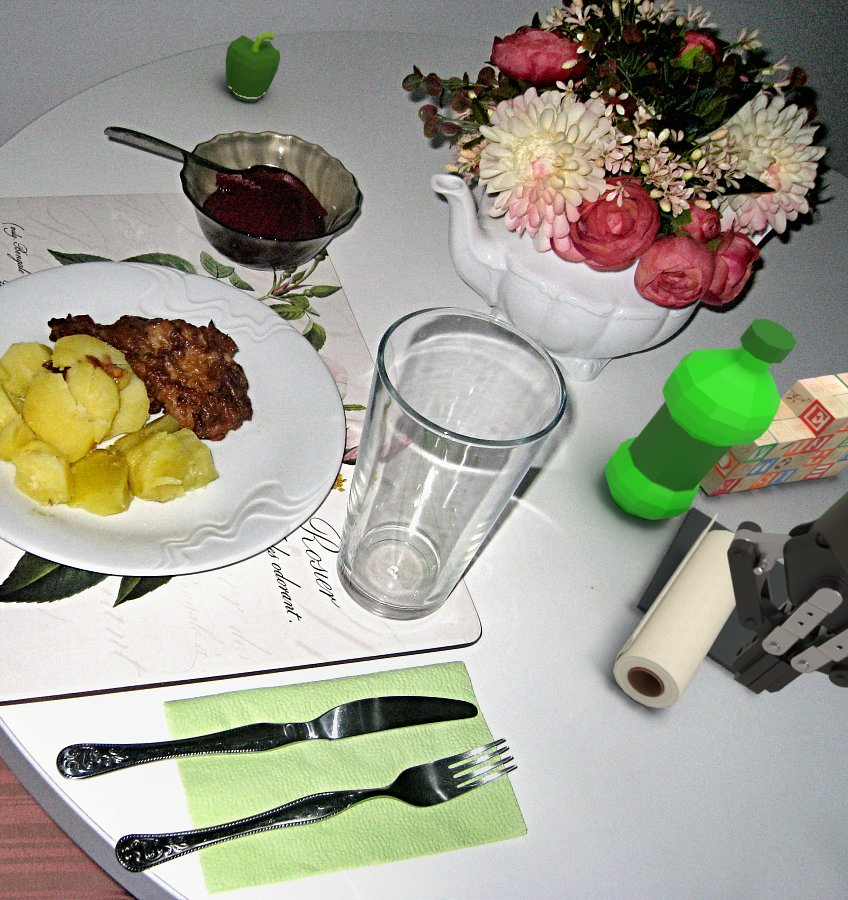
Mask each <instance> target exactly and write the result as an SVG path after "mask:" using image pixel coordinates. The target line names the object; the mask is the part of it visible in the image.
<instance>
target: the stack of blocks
mask: <svg viewBox="0 0 848 900" xmlns="http://www.w3.org/2000/svg"><path fill="white" fill-rule="evenodd" d="M780 399H781V402H780V405H779V408H778V411H777V413H776V415H775V417H774V419H773V421H772V423H771V425H770V427H769V428H768V429H767V431H766V432H765V433H764V434H763V435H762V436H761V437H760V438H758V439H757V440H755V441H753V442H752V443H750V444H743V445H733V446H732V448H731V449H730V450H729V451H728V452H727V453H726V454H725V455H724V456H723V457H722V458H721V460H720V461H719V462H718V463H717V464H716V465H715V466H714V467H713V468H712V469H711V470H710V472H709V473H708V474H707V475H706V476H705V477H704V478H703V479H702V480H701V483H700V487H701V488H702V489H703V490H704V491H705V493H706V494H707V495H708V496H710V497H711V496H715V495H716V496H717V495H720V494H721V495H722V494H725V493H730V494H731V493H736V492H742V491H746V490H754V489H760V488H765V487H770V486H776V485H782V484H786V483H793V482H798V481H808V480H815V479H819V478H827V477H834V476H837V475H839V473H841V472H842V471H843V469H845V468H846V467H847V466H848V372H842V373H837V374H828V375H827V374H826V375H821V376H816V377H808V378H803V379H797V381H795V383H794V384H792V386H791V387H790V388H789V389H788V390H787V391H786V392H785V393H784V394H783V395H782V396H781V397H780Z"/></svg>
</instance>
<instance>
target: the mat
mask: <svg viewBox="0 0 848 900" xmlns="http://www.w3.org/2000/svg"><path fill="white" fill-rule="evenodd" d="M712 519H713V518H712V517H710V516H708V515H707V514H706V513H704V512H702V511H701V510H699V509H697V508H696V507H695V506H693V507H691V508H690V510H689V511H688V514H687V515H686V518H685V519H684V521H683V523H682V525H681V527H680V528H679V530H678V532H677V534H676V536H675V537H674V539H673V541H672V543H671V545H669V548H668V550H667V552H666V553H665V555H664V557H663V559H662V561H661V562H660V564H659V566H658V568H657V570H656V572H655V574H654V576H653V577H652V579H651V581H650V583H649V584H648V587H647V588H646V590H645V592H644V593H643V596H642V597H641V599H640V601H639V603H638V605H637V608H638V609H639V610H641V611H643V612H644V613H645V614H646V613H647V611H648V610H649V608H650V607H651V606H652V604H653V603H654V601H655V600H656V598H657V597H658V595H659V594H660V592H661V591H662V590H663V588H664V587H665V585H666V584H667V582H668V581H669V579H670V578H671V576H672V575H673V573H674V572H675V571H676V569H677V568H678V566H679V565H680V563H681V562H682V560H683V559H684V557H685V556H686V555H687V553H688V552H689V550H690V549H691V547H692V546H693V544H694V543H695V541H696V540H697V538H698V537H699V536H700V534H701V533H702V531H703V530H704V529H706V528H707V527H708V525H709V524H710V522H711V521H712ZM714 530H724V531H729V532H732V533H734V531H732V530H731V529H729V528H728V527H726V526H724V525H723V524H721V523H719V521H716V520H715V521H714V523H713V524H712V526H711V527H710V529H709V530H708V532H711V531H714ZM769 578H770V585H771V591H772V601H771V602H772V603H773V604H774V605H775V606H776V607H777V608H779V607H780V606H781V605H782V604H783V603H784V602H785V601H786V600H787V599H788V596H787V591H786V580H785V569H784V563H782V562H780V561H778V559H777V560H776V561H775V564H774V567H773V569H772V570H771V571H769ZM755 633H756V632H755V631H752V630H748V629H746V628H744V627H743V626H742V625H741V624H740V623H739V619H738V613H737V608H736V606H735V607H734V609H733V611H732V612H731V614H730V616H729V617H728V619H727V621H726V622H725V624H724V626H723V627H722V629H721V631H720V633H719V634H718V636H717V638H716V639H715V641H714V643H713V644H712V646H711V648H710V649H709V651H708V653H707V654H706V656H708V657H709V658H710V659H712V660H713V661H715V662H716V663H718V664H720V666H722V667H724V668H725V669H727V670H728V671H730V672H731V673H732V674H734V675H735V674H736V671H735V670H734V669H732V665H733V662H734V659H735V657H736V654H737V652H738V649H739V647H740V646H741V645H742V644H743V643H745V641H747V640H748V639H749V638H750V637H751V636H753V635H754V634H755Z"/></svg>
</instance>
